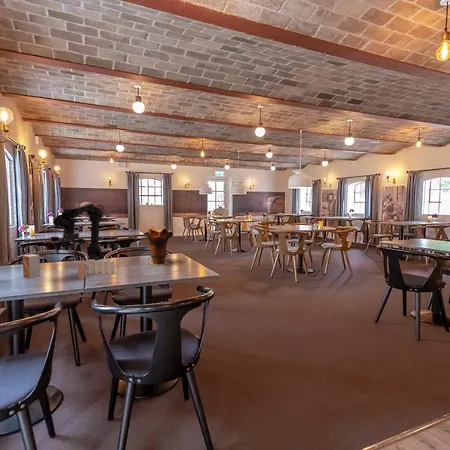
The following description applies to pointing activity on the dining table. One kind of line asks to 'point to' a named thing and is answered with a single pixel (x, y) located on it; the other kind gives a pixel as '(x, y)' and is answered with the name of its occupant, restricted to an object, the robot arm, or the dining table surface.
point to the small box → (31, 265)
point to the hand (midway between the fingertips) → (66, 255)
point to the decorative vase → (158, 245)
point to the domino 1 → (81, 271)
